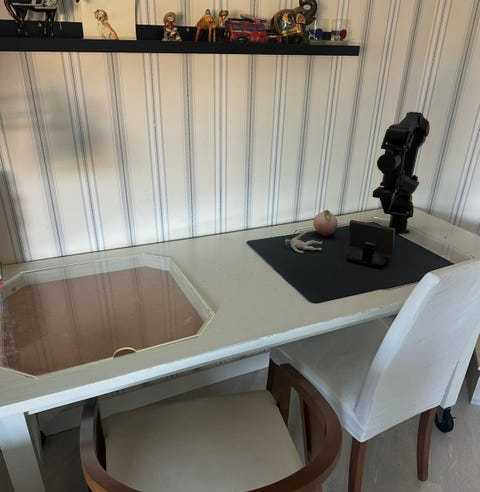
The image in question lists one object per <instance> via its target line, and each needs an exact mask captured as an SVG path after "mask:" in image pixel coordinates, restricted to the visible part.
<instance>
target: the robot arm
mask: <svg viewBox="0 0 480 492" xmlns="http://www.w3.org/2000/svg"><path fill="white" fill-rule="evenodd" d="M430 125H431V124H430V121H429V120H428V119H427V118H425V117H424V113H423V112H418V111H408V112H406V115H405V117H403V119H402V120H401V121H400V122H399V123H393V124H390V125H389V127H388V128H387V129H386V130H385V133H384V136H383V139H382V141H381V142H382V143H381V145H380V150H384V153H383V154H381V155H380V156H379V157H378V158H377V160H376V168H377V169H378V170H379V172H381V174H382V178H381V182H379V186H377V188H375V189H374V190H373V191H372V195H371V197H372V198H373V199H379V201H380V205H381V207H382V211H383V214H384V215H389V216H390V217H389V223H388V227H391V228H395V235H396V234H404V233H409V232H410V230H408V229H407V227H408V221H409V219H410V218H413V217H414V212H415V210H414V209H415V206H414V202H413V194H414V193H415V192H416V190H417V189H418V187H419V185H420V181H419V176H418V175H416V174H414V172H415V168H416V163H417V160H418V159H417V158H418V154H419V150H420V148H421V147H422V146H423V145H424V144H425V142H426V139H427V138H429V137H428V136H429V134H430V129H431V126H430Z"/></svg>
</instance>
